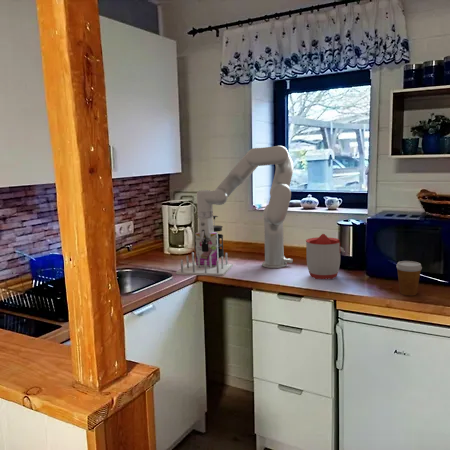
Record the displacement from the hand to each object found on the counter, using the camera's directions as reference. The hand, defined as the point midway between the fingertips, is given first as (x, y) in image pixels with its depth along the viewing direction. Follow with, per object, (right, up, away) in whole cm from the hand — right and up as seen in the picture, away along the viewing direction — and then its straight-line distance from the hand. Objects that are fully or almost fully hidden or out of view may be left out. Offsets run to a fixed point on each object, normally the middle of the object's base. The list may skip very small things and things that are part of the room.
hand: (207, 249), depth 232 cm
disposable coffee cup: (+82, -15, -50) cm, 97 cm away
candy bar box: (0, -8, +1) cm, 8 cm away
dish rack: (-1, -10, -3) cm, 10 cm away
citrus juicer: (+55, -11, -22) cm, 60 cm away
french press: (+4, -5, +27) cm, 28 cm away
